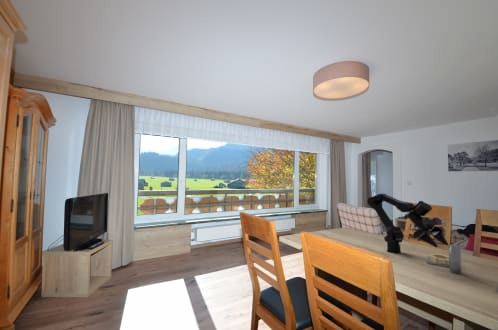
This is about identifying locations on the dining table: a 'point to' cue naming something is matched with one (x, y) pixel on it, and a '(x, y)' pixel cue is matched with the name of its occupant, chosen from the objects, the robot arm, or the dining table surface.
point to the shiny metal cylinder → (455, 259)
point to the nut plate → (438, 260)
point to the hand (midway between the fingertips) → (442, 246)
